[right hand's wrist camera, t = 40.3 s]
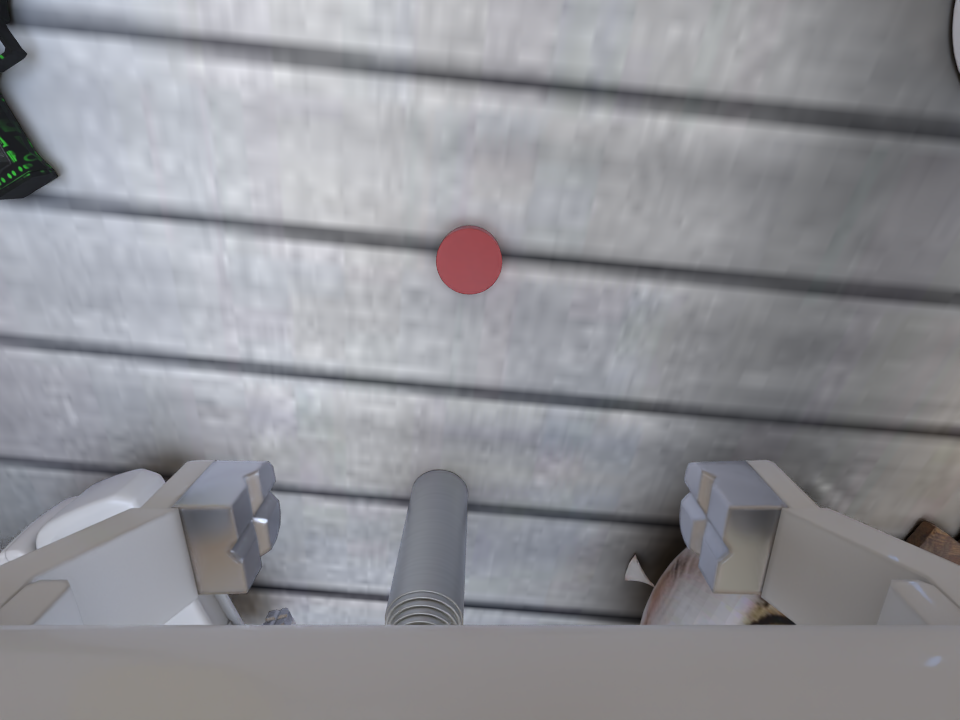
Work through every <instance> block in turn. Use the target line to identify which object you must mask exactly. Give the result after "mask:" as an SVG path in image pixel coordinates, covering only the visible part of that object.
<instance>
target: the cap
mask: <svg viewBox="0 0 960 720" xmlns="http://www.w3.org/2000/svg"><path fill="white" fill-rule="evenodd" d="M436 265H437V270H438V273H439V275H440V277H441V279H442V281H443V282H444V283H445V284H446V285H447V286H448V287H449V288H451V289H452V290H454V291H456V292H459V293H462V294H477V293H480V292H483V291H485V290H486V289H488V288H489V287H491V286H492V285H493V284H494V283H495V281H496V280H497V278H498V276H499V274H500V272H501V268H502V256H501V251H500V248H499V245H498V243H497V241H496V239H495V238H494V237H493V236H492V235H491V234H490V233H489V232H488V231H486V230H484V229H483V228H480V227H477V226H462V227H459V228H456V229H454V230H453V231H451V232H450V233H449V234H448V235H447V236H446V237H445V238H444V240H443V241H442V243H441V245H440V247H439V249H438V252H437V257H436Z"/></svg>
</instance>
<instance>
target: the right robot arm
mask: <svg viewBox="0 0 960 720" xmlns="http://www.w3.org/2000/svg"><path fill="white" fill-rule="evenodd" d="M952 34H953V49H954V55H955V59H956V64H957V67H958V70H959V73H960V0H956V2H955V7H954V15H953V28H952ZM275 482H276V479H275V473H274V468H273V466H272V465H271V463H270V462H269V461H226V460H219V461H217V460H193V461H187V462H186V463H185V464H184V465H183V466H182V467H181V468H180V469H179V470H178V471H177V472H176V473H175V474H174V475H173V476H172V477H171V478H170V479H169V480H168V481H167V482H166V483H165V484H164V485H163V486H162V487H161V488H160V489H159V490H158V491H157V492H156V493H155V494H154V495H153V496H152V497H151V498H150V499H149V500H147V501H146V502H145V503H144V504H143V505H142V506H141V507H140V508H130V509H128V510H126V511H123V512H121V513H119V514H116V515H114V516H112V517H110V518H107V519H105V520H103V521H100V522H98V523H96V524H94V525H91V526H89V527H87V528H84V529H82V530H80V531H78V532H75V533H73V534H71V535H68V536H66V537H64V538H62V539H59V540H57V541H55V542H52V543H50V544H48V545H46V546H43V547H41V548H39V549H36V550H34V551H32V552H30V553H27V554H25V555H23V556H21V557H18V558H16V559H14V560H11V561H9V562H7V563H5V564H2V565H0V720H960V565H957V564H955V563H953V562H951V561H948V560H946V559H944V558H941V557H939V556H937V555H935V554H932V553H930V552H928V551H926V550H923V549H921V548H919V547H916V546H914V545H912V544H910V543H907V542H905V541H903V540H900V539H898V538H896V537H894V536H891V535H889V534H887V533H885V532H882V531H880V530H878V529H875V528H873V527H871V526H869V525H866V524H864V523H862V522H859V521H857V520H855V519H853V518H850V517H848V516H846V515H844V514H841V513H839V512H837V511H834V510H832V509H830V508H820V507H819V506H818V505H817V504H816V503H815V502H814V501H813V500H812V499H811V498H810V497H809V496H807V495H806V494H805V493H804V492H803V491H802V490H801V489H800V488H799V487H798V486H797V485H796V484H795V483H794V482H793V481H792V480H791V479H790V478H789V477H788V476H787V475H786V474H785V473H784V472H783V471H782V470H781V469H780V468H779V467H778V466H777V465H776V464H775V463H774V462H772V461H769V460H748V461H708V462H689V464H688V466H687V469H686V472H685V478H684V482H685V483H686V485H687V487H688V488H689V490H690V492H689V493H688V494H687V495H686V496H685V497H684V498H683V499H682V500H681V505H680V513H679V519H680V529H681V533H682V536H683V539H684V542H685V543H686V545H687V547H688V549H689V550H690V551H692V552H693V553H695V554H696V555H698V556H699V557H700V558H699V564H698V567H699V569H700V571H701V573H702V575H703V576H704V578H705V580H706V582H707V584H708V585H709V587H710V589H711V591H712V592H713V593H714V594H750V595H761V597H762V598H763V599H764V600H766V601H767V602H768V603H769V604H771V605H772V606H773V607H775V608H776V609H777V610H778V611H780V612H781V613H782V614H784V615H785V616H786V617H787V618H789V619H790V620H791V621H793V622H794V623H795V624H796V625H164V624H165V623H166V622H168V621H169V620H170V619H171V618H173V617H174V616H175V615H177V614H178V613H179V612H180V611H182V610H183V609H184V608H186V607H187V606H188V605H189V604H191V603H192V602H193V601H195V600H196V599H197V598H198V597H199V595H209V594H245V593H248V591H249V589H250V587H251V585H252V584H253V582H254V580H255V578H256V576H257V575H258V573H259V571H260V569H261V567H262V564H261V558H260V557H261V556H262V555H264V554H265V553H267V552H268V551H270V550H271V549H272V547H273V545H274V543H275V541H276V539H277V536H278V532H279V528H280V517H281V511H280V504H279V500H278V499H277V498H276V497H275V496H274V495H273V494H272V493H271V492H270V490H271V488H272V487H273V485H274V484H275Z"/></svg>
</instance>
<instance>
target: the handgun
mask: <svg viewBox="0 0 960 720" xmlns="http://www.w3.org/2000/svg"><path fill="white" fill-rule="evenodd" d="M7 2H8V0H0V41H1V42H2V43H3V45H4V46H5V52H4V53H2V54H1V55H0V72H4V71H6V70H7V69H9V68H10V67H12V66H13V65H15V64H16V63H18V62H19V61H21V60H22V59H24V58H25V57H26V55H27V53H26V52H25V51H24V50H23V49H22V48H21V46H20V45H19V44H18V42H17V41H16V39H15V38H14V36H13V35H12V34H11V32H10V31H9V29H8V28H7V25H6V24H7V23H9V22H10V17H9V11H8V6H7ZM54 171H55V170H54V169H52V168H51V167H50V166H49V165H48V164H47V163H46V162H45V161H44V160H43V159H42V158H41V157H40V156H38V155H37V153H36V151H35V150H34V148H33V147H32V145H31V143H30V142H29V140H28V138H27V137H26V135H25V134H24V132H23V130H22V129H21V127H20V125H19V124H18V122H17V121H16V119H15V117H14V116H13V114H12V112H11V111H10V109H9V108H8V106H7V104H6V103H5V101H4V99H3V98H2V96H1V94H0V200H2V199H16V198H24V197H26V196H27V195H29V194H30V193H32V192H34V191H35V190H37V189H39V188H40V187H42V186H44V185H45V184H47V183H48V182H50V181H52V180H53V179H55V178H57V177H58V176H57V174H56V173H55V172H54Z"/></svg>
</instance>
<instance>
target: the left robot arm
mask: <svg viewBox="0 0 960 720" xmlns="http://www.w3.org/2000/svg"><path fill="white" fill-rule="evenodd" d="M164 484H165V481H164V479H163V477H162V476H161V475H160V474H158V473H156V472H153V471H150V470H146V469H136V470H132V471H128V472H125V473H121V474H118V475H115V476H113V477H110V478H107V479H105V480H102V481H100V482H98V483H96V484H94V485H92V486H90V487H89V488H88V489H87V490H85V491H84V492H83V493H82V494H80V495H79V496H74V497H70V498H67V499H65V500H64V501H62V502H60V503H59V504H57V505H56V506H54V507H53V508H51V509H50V510H48V511H47V512H45V513H44V514H43V515H41V516H40V517H39V518H37V519H36V520H35V521H33V522H32V523H31V524H30V525H29V526H28V527H26V528H25V529H24V530H23V531H22V532H21V533H20V534H18V535H17V536H16V537H15V538H14V539H13V540H12V541H11V542H10V543H9V544H8V545H7V546H6V547H5V548H4V549H3V550H2V551H1V552H0V565H2V564H5V563H7V562H9V561H11V560H14V559H16V558H18V557H21V556H23V555H25V554H27V553H30V552H32V551H34V550H36V549H39V548H41V547H43V546H46V545H48V544H50V543H52V542H55V541H57V540H59V539H62V538H64V537H66V536H68V535H71V534H73V533H75V532H78V531H80V530H82V529H84V528H87V527H89V526H91V525H94V524H96V523H98V522H100V521H103V520H105V519H107V518H110V517H112V516H114V515H116V514H119V513H121V512H123V511H126V510H128V509H130V508H140V507H141V506H142V505H143V504H144V503H145V502H146V501H147V500H149V499H150V498H151V497H152V496H153V495H154V494H155V493H156V492H157V491H158V490H159V489H160V488H161V487H162V486H163V485H164ZM164 625H245V624H244V622H243V621H242V619H241V617H240V615H239V614H238V612H237V610H236V608H235V606H234V605H233V603H232V601H231V599H230V597H229V596H228V594H209V595H199V597H198V598H197V599H196V600H195V601H193V602H192V603H191V604H189V605H188V606H187V607H186V608H184V609H183V610H182V611H180V612H179V613H178V614H177V615H175V616H174V617H173V618H171V619H170V620H169V621H168V622H166V623H165V624H164ZM263 625H295V621H294V619H293V617H292V616H291V614H290V612H289V610H288V608H282V609H281V610H273V611H269V613H268V615H267V617H266V622H265V623H263Z"/></svg>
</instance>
